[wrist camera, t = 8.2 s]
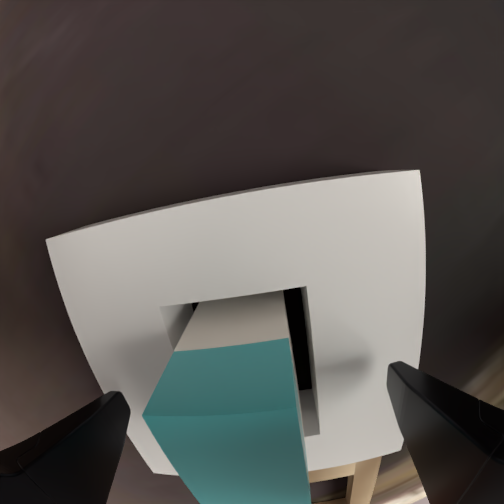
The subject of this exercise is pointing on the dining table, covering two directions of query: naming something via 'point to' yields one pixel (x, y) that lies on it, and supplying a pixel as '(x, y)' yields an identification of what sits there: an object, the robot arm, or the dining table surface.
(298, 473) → the plug
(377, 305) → the port block
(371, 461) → the holster
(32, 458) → the robot arm
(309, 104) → the dining table surface
